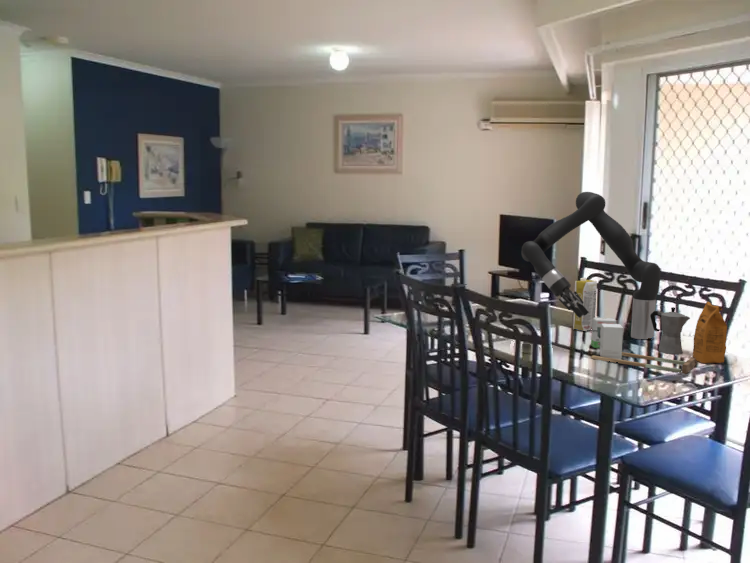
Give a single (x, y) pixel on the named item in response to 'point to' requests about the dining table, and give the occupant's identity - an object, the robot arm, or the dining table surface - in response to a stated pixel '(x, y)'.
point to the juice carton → (586, 303)
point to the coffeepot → (670, 330)
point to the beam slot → (685, 365)
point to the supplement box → (611, 341)
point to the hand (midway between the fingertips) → (584, 315)
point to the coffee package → (710, 336)
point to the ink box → (599, 329)
